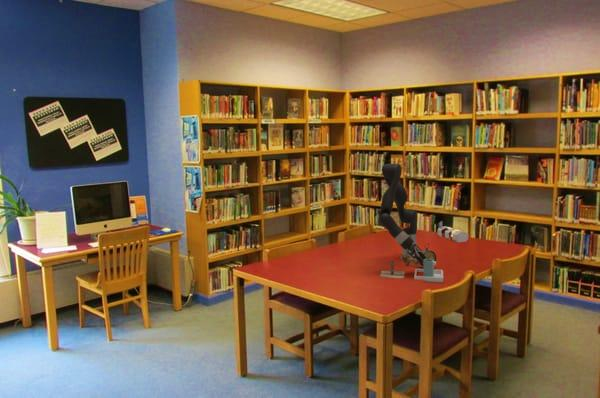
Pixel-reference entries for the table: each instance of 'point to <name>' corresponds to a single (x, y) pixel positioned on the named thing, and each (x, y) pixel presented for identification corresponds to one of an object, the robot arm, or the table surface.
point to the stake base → (388, 274)
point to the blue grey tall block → (429, 267)
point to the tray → (436, 279)
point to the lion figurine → (409, 260)
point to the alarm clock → (428, 255)
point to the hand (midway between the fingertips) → (423, 260)
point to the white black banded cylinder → (453, 233)
